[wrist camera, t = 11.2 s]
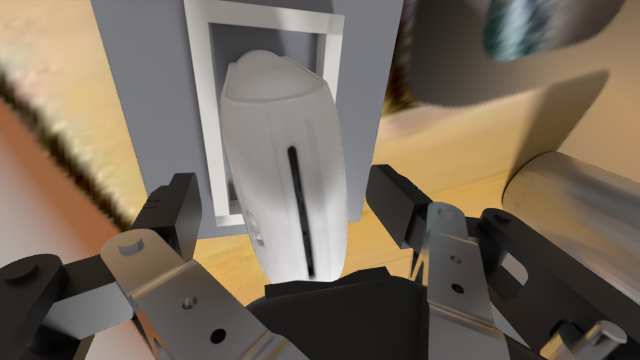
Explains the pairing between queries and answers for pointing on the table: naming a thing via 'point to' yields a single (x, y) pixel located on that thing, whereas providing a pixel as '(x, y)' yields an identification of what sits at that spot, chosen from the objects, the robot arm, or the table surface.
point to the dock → (210, 73)
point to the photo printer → (286, 166)
